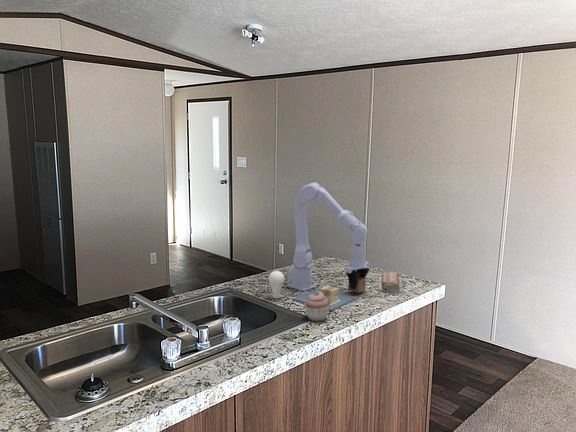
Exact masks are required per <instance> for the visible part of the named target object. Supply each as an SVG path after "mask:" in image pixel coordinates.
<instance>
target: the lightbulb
mask: <svg viewBox="0 0 576 432" xmlns="http://www.w3.org/2000/svg"><path fill="white" fill-rule="evenodd" d="M268 282H269V284H270V287H271V290H272V291H271V292H272V298H274V299H275V300H276V299H278V298H280V293H281V288H282V286H283V284H284V282H285V275H284V274H283V273H282V271H279V270H274V271H272V272H270V274H269V275H268Z"/></svg>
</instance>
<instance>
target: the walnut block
mask: <svg viewBox="0 0 576 432" xmlns="http://www.w3.org/2000/svg"><path fill="white" fill-rule="evenodd" d="M366 281H367V278H366V277H365V278H363V277H358V280H357V286H356V289H353V288H351V287H350V282H349V281H348V282H347V283H348V287H347V288H348V289H347V290H348V291H350V292H353V293H357V294H359V293H362V292H364V291H366Z"/></svg>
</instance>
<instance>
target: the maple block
mask: <svg viewBox="0 0 576 432" xmlns="http://www.w3.org/2000/svg"><path fill="white" fill-rule="evenodd" d="M319 288H320V292H321V293H323V294H324V296H325V297H326V298H327V299H328V303H329V304H332V303H334V302H337V301H338V295H339V293H340V291H339V290H340V289H339V287H335V286H332V285H326V286H323V287H319Z"/></svg>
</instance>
